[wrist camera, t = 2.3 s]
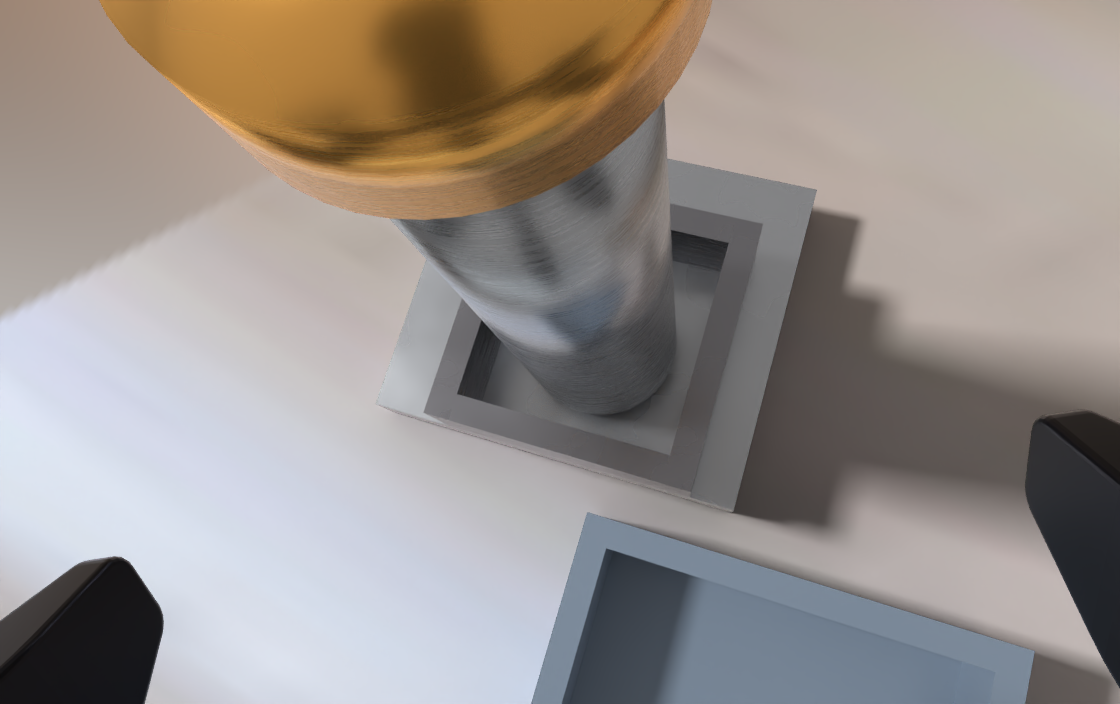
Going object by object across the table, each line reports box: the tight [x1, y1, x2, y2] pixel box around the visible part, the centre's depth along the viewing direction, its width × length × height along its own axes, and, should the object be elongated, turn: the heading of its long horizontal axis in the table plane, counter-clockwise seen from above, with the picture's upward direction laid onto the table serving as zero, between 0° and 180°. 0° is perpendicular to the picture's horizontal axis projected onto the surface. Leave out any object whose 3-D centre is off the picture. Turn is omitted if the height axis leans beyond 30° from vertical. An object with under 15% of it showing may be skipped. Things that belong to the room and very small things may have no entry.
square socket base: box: [376, 159, 817, 512], centre depth 19 cm, size 9×8×3 cm
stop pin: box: [99, 0, 712, 415], centre depth 12 cm, size 5×5×14 cm
